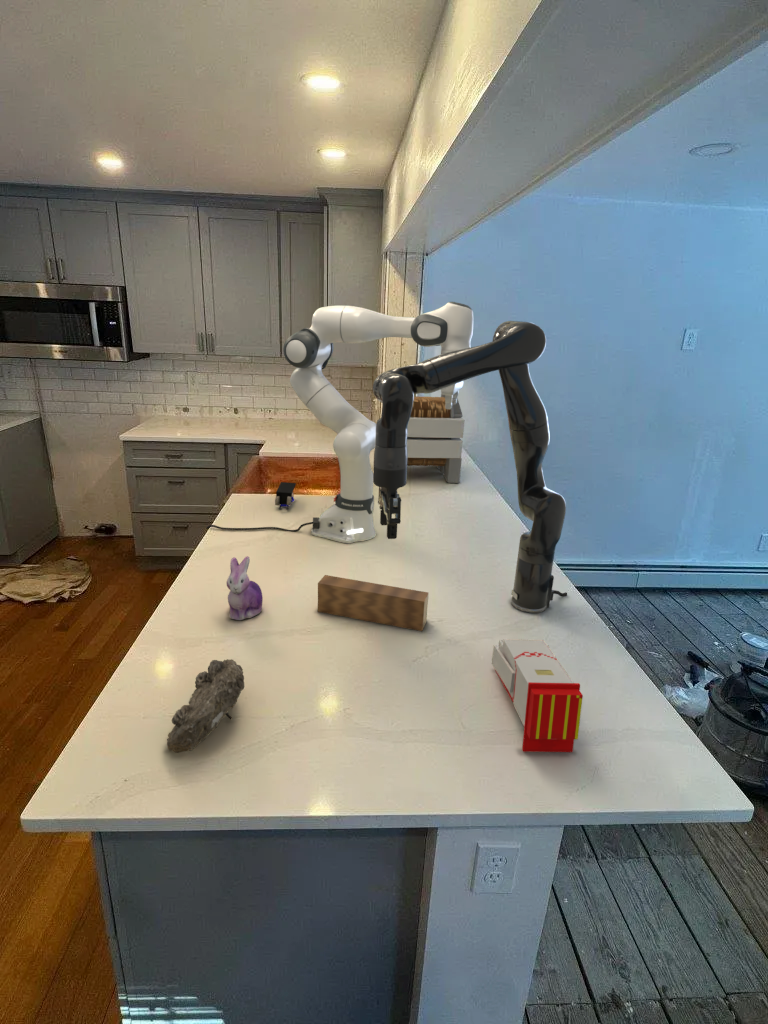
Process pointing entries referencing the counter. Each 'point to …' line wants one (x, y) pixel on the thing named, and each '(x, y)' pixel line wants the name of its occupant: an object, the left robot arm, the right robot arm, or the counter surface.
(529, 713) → the toy
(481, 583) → the counter surface
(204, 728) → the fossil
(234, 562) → the figurine
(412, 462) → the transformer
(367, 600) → the bar
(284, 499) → the figurine character
